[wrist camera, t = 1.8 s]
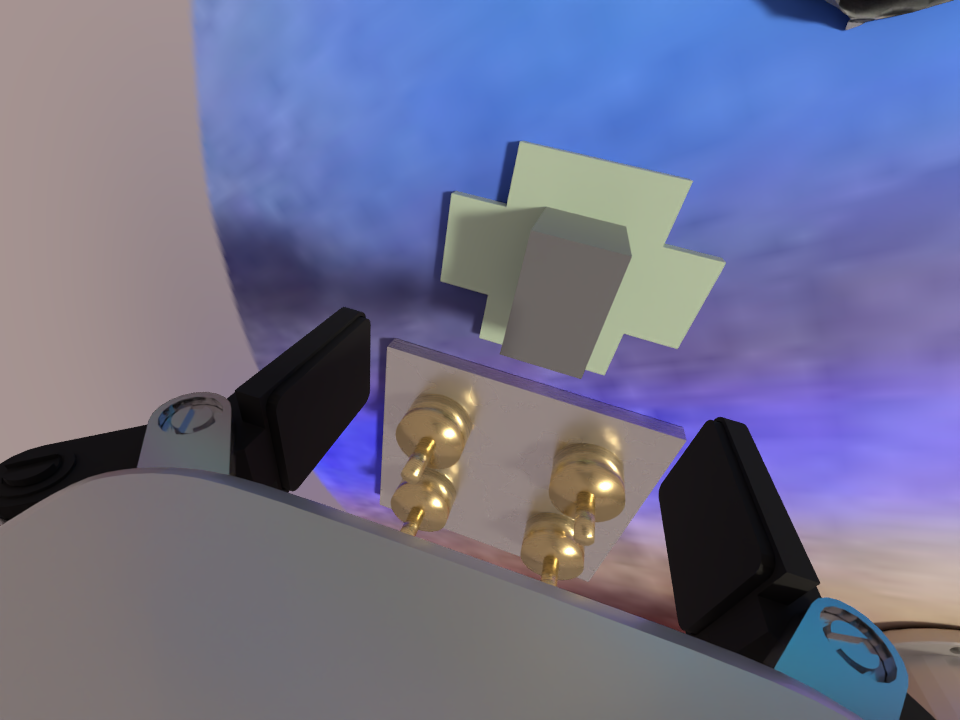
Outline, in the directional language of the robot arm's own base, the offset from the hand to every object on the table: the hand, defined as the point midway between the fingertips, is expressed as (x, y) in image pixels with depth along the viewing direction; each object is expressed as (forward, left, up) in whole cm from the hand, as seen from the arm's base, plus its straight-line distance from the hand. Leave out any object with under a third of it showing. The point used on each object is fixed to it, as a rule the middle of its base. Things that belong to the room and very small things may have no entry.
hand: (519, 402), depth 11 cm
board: (0, 0, -13) cm, 13 cm away
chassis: (0, +17, -13) cm, 22 cm away
